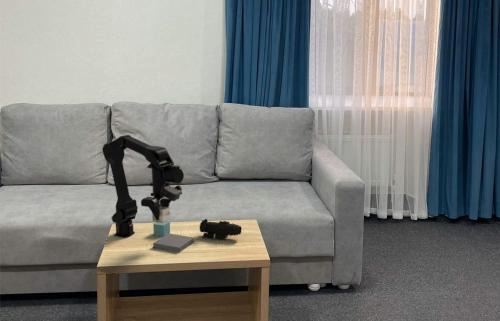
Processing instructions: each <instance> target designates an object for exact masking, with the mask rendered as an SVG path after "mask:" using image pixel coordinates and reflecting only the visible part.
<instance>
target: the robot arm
mask: <svg viewBox="0 0 500 321" xmlns="http://www.w3.org/2000/svg"><path fill="white" fill-rule="evenodd" d="M126 149H129V150H132V152H135V153H138V154H140V155H142V156H143V157H144V158H145V160H146V161H147V162H148V163H149V165H147V167H146V168H148V169H150V170H151V181H152V182H150V183H149V184H150V185H149V186H151V187H152V192H150V196H146V197H144V198H142V199H141V200H140V205H141V207H145V208H146V207H147V208H149V210H150V212H151V214H152V213H153V215H154V217H155V218H156V220H159V215H160V207H161V206H162V207H169V208H170V204H171V203H172V202H175V201H177V200H179V199H180V197H181V195H183V188H182V186H181V185H179V184H181V183H182V182H183V179H184V177H185V176H184V175H185V173H184V172H183V169H181V168H180V167H181V166H180V165H175V163H174V160H173V159H172V157H171V156H170V155H171V154H170V153H169V152H168V150H167V148H166V147H164V146H163V147H162V146H158V145H150V144H148V143H146V142H143V141H141V140H139V139H137V138H135V137H133V136H132V135H130V134H125V135H119V137H117V138H116V139H114V140H112V141H110V142H107V143H104V145H103V146H102V154H103V156H104V159H105V161H106V163H108V164H109V165H110V169H111V174H112V179H113V183H114V187H115V192H116V197H117V200H116V204H115V212H114V213H113V215H112V216H111V217H110V218H111V220H112V223H115V233H113V236H114V237H121V238H128V237H130V236H132V235H134V234H135V233H136V231H135V230H134V223H133V220H135V219H136V217H137V213H138V209H139V207H138V205H137V200H136V199H135V198H134V199H133V198H132V196H130V192H129V191H130V190H129V187H128V182H127V178H126V173H125V169H124V164H123V161H124V158H125V150H126ZM171 183H172V184H177V185H176V186H171Z"/></svg>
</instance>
